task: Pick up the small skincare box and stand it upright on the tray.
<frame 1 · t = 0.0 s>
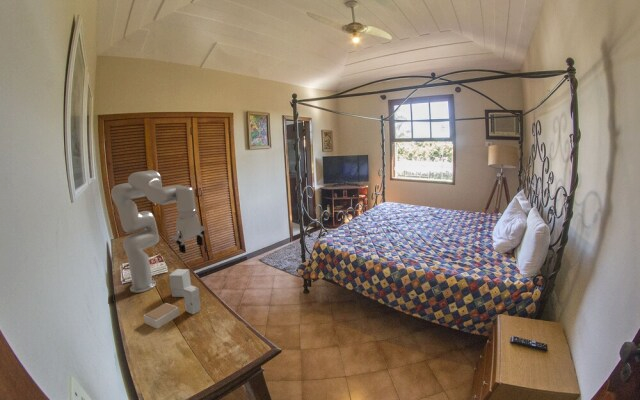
hand: (191, 248, 135), 31 cm above the table, tool pointing down, fingers open, 9 cm apart
supplement box: (182, 293, 154), on the table
tray: (162, 318, 133), on the table
skincare box: (193, 311, 139), on the table
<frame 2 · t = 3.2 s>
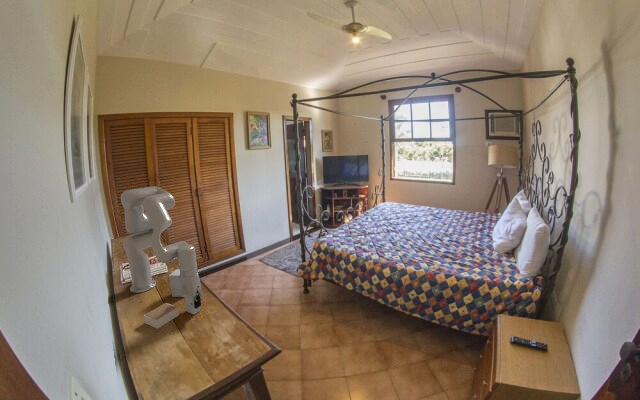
hand: (193, 304, 138), 3 cm above the table, tool pointing down, fingers closed on skincare box, 6 cm apart
skincare box: (193, 311, 139), on the table, touching gripper
everything else where it was.
when the fingers open (8 cm above the table, at t = 8.0 s): skincare box stays where it is, resting on tray.
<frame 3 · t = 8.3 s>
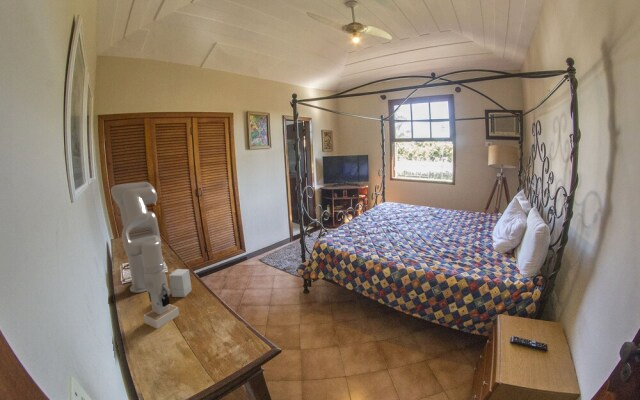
hand: (159, 302, 131), 9 cm above the table, tool pointing down, fingers open, 8 cm apart
skincare box: (161, 311, 132), point 4 cm above the table, touching tray
everything else where it was.
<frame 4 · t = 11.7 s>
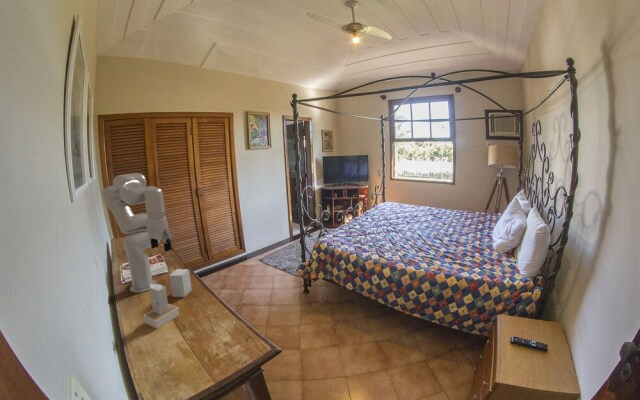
hand: (161, 248, 137), 30 cm above the table, tool pointing down, fingers open, 9 cm apart
nothing on the table moved.
at the end: skincare box inside the target area on the tray (0.1 cm from its centre), point 4.1 cm above the tray's base; skincare box tilted 0°; the gripper is holding nothing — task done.
